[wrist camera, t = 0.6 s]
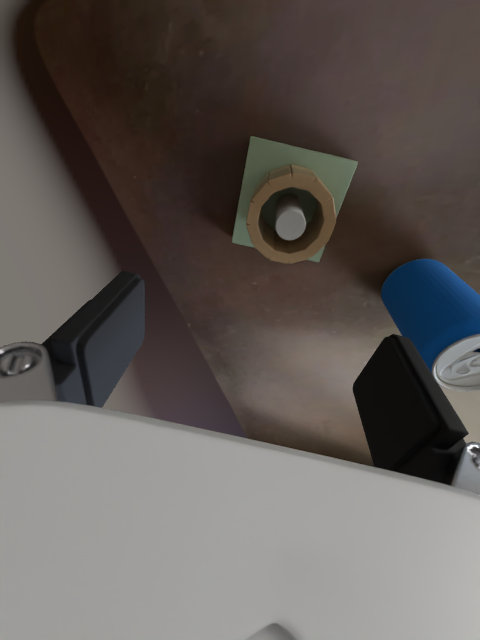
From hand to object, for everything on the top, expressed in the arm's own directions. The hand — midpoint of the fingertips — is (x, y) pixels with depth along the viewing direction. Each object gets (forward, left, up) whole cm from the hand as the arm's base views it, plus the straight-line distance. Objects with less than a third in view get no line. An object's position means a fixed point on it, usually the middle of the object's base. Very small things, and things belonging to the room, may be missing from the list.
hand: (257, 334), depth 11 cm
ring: (-1, +2, -18) cm, 18 cm away
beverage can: (+4, +17, -20) cm, 26 cm away
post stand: (-1, +2, -19) cm, 19 cm away
